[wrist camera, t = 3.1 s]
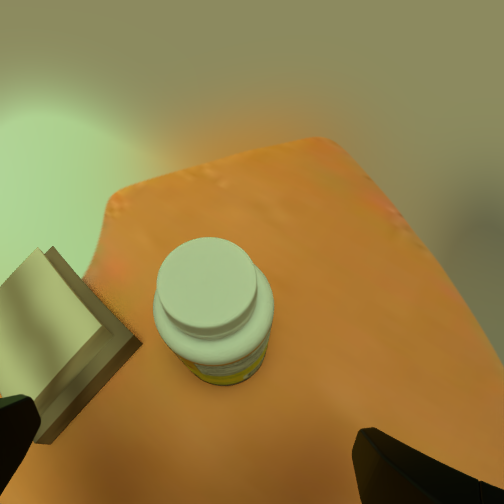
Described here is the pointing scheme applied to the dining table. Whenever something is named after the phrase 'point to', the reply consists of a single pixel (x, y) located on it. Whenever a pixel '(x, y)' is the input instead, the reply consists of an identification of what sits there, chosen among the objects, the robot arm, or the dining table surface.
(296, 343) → the dining table surface
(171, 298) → the supplement bottle
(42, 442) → the stand
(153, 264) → the dining table surface
